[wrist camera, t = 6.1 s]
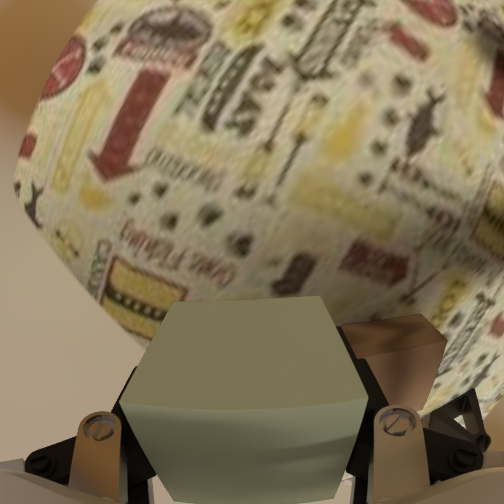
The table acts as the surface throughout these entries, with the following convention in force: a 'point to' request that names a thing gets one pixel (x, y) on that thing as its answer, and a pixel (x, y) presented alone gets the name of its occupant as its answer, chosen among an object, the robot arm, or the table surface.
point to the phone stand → (472, 417)
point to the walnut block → (400, 356)
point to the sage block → (247, 402)
